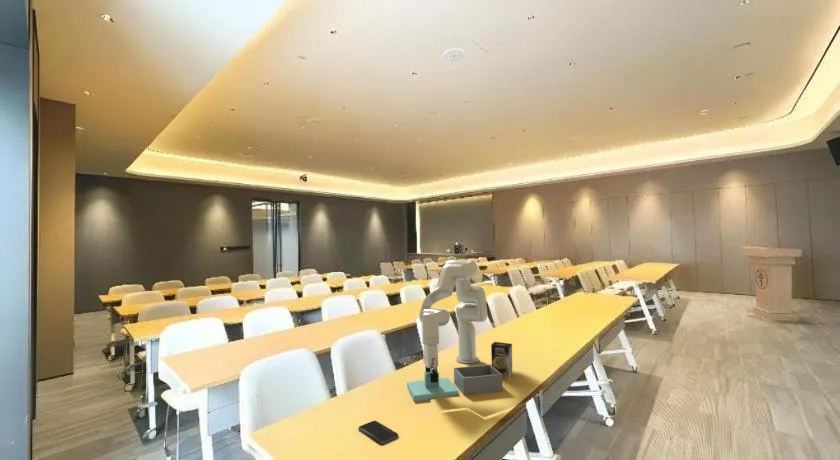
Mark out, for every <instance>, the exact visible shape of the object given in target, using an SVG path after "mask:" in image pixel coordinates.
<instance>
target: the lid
mask: <svg viewBox="0 0 840 460" xmlns="http://www.w3.org/2000/svg"><path fill="white" fill-rule="evenodd" d="M430 373H431V372H426V371H424V373H423V374H424V375H423V376H424V380H423V379H422V380H415V381H407V382H406V388H407V390H408V392H409V395H410V396H411V398H412V399H411V400H412V401H413V402H421V401H422V402H424V401H431V399H433V398H442V397H451V396H459V389H458V388H457V386H456V385H455V384H453V383H454V382H452V381H451V380H450V378H449V377H445V378H440V373H439V372H438V382H435V383H431V378H430Z"/></svg>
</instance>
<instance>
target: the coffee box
mask: <svg viewBox="0 0 840 460" xmlns="http://www.w3.org/2000/svg"><path fill="white" fill-rule="evenodd" d="M490 346H491V347H490V348H491V353H490V354H491V357H490V358H491V366H492V367H494V368H495V369H496V370H497V371H499V372H500V373H501V374H502V379H503V378H504V379H510V378H512V377H513V343H509V342H508V343H507V342H501V341H500V342H499V341H494V342H492V343H491V345H490Z"/></svg>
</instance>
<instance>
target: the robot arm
mask: <svg viewBox="0 0 840 460" xmlns="http://www.w3.org/2000/svg"><path fill="white" fill-rule="evenodd" d="M477 271H478V265H477V262H475V261H474V260H471V259H449V260H447V261H446V262H445V263H444V265H443V266H442V268H441V269H440V273H439V274H440V275H439V277H438V281H437V284H436V287H435V289H433V290H432V291H431V292H430V293H429V294H427V295H426V297H425V298H424V299H423V302H422V303H421V307H420V310H419V315H418V316H419V322H421V328H422V329H421V331H422V333H421V335H422V338H421V339H422V344H423V349H422V350H423V354H422V355H423V356H422V357H423V358H422V359H423V360H422V361H423V364H424V365H425V372H431V373H430V378H431V383H435V382H438V373H439V372H438V371H439V370H438V366H439V350H438V345H439V344H440V330H439V329H440V327H444V326H446V325H448V324H449V322H450V320H451V315H450V313H449V311H448V310H447V309H443V308H442V309H441V308H433V305H434V304H436V303H437V302H439V301H440V302H441V301H442V300H445V299H446V298H450V297H452V295H453V294H454V290H455V292H456V299H457V301H458V302H459V303H460V304H458V305H457V306H456V309H455V311H456V312H455V314H456V319H457V326H458V327H457V329H458V330H457V331H458V356H456V358H455V359H456V361H457V362H458V363H461V364H475V363H478V362H479V360H480V358H479V357H478V356H477V351H476V349H477V348H476V327H475V326H474V324H473V322H475V323H484V322H486V320H487V319H488V307H487V296H486V291H485V290H484V288H483V287H482V286H478V285H472V284H471V279H472V278H473V277H475V276H476V273H477ZM431 307H432V308H431Z"/></svg>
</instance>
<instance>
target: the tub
mask: <svg viewBox="0 0 840 460" xmlns="http://www.w3.org/2000/svg"><path fill="white" fill-rule="evenodd" d="M464 376H471V377H465V378H464ZM453 383H454V384H453V385H454V386H455V387H456V388H457V390H458V391H460V393H461V394H462V396H470V395H472V396H473V395H479V394H488V393H497V392H503V390H504V389H503V378H502V374H501V373H500V372H499V371H497V370H496V369H495V368H494V367H492V364H489V363H488V364H480V365H470V366H460V367H459V366H458V367H453Z"/></svg>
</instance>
